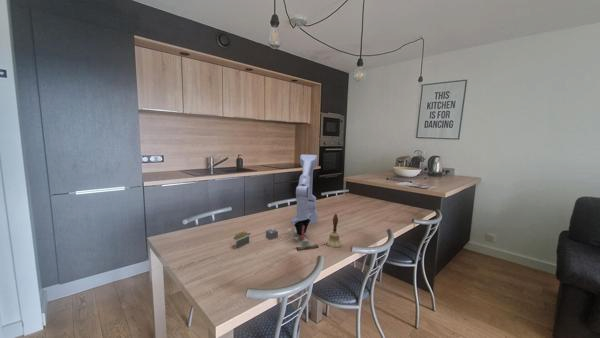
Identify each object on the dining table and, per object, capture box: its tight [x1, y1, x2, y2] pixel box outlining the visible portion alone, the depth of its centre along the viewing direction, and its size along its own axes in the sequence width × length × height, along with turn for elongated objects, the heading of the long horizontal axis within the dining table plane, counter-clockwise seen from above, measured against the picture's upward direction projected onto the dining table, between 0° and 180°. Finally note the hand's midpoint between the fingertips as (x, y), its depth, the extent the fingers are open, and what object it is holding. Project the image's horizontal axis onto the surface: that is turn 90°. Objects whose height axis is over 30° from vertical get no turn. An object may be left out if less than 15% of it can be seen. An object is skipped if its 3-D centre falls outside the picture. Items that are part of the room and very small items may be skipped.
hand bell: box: [325, 213, 343, 248], centre depth 126 cm, size 8×8×16 cm
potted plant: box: [232, 230, 253, 248], centre depth 123 cm, size 12×18×7 cm, turn 143°
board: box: [287, 227, 319, 252], centre depth 131 cm, size 11×25×1 cm, turn 21°
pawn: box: [297, 224, 306, 238], centre depth 128 cm, size 4×4×7 cm
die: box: [265, 228, 279, 241], centre depth 130 cm, size 4×4×5 cm
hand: (301, 233), depth 128 cm, fingers closed on pawn, 3 cm apart
